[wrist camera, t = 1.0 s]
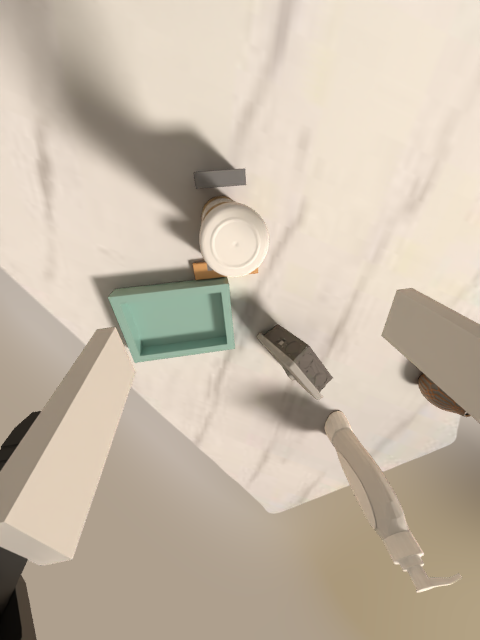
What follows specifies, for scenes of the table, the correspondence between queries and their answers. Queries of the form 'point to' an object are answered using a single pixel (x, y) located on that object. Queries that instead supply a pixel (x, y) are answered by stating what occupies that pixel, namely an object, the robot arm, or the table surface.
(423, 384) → the vase
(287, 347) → the electrical switch
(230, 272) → the sprinkles bottle
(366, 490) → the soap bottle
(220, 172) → the grey and orange blocks
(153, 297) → the parts tray
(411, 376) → the table surface
